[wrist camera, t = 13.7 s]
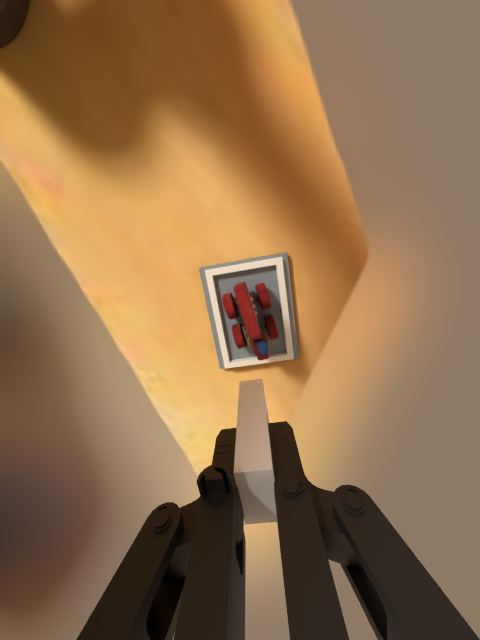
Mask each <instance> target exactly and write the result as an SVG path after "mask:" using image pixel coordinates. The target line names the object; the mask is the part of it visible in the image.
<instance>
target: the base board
mask: <svg viewBox="0 0 480 640" xmlns="http://www.w3.org/2000/svg"><path fill="white" fill-rule="evenodd" d="M199 270H200V275H201V280H202V284H203V289H204V294H205V299H206V303H207V308H208V313H209V317H210V322H211V327H212V331H213V336H214V341H215V346H216V350H217V355H218V360H219V364H220V369H226V368H234V367H241V366H248V365H255V364H263V363H270V362H277V361H284V360H292V359H299V354H298V345H297V336H296V327H295V318H294V309H293V300H292V291H291V282H290V273H289V264H288V255H287V252H286V253H281V254H275V255H269V256H263V257H258V258H252V259H246V260H241V261H235V262H229V263H224V264H218V265H212V266H207V267H201V268H199ZM243 281H244V282H246V285H247V288H248V292H249V293H250V294H251V295H252V296H254V295H257V292H256V289H255V285H257V284H260V283H264V284H265V286H266V288H267V291H268V295H269V298H270V302H271V308H269V309H265V310H263V309H262V308H261V305H260V302H259V301H257V302H254V304H255V307H256V311H257V320H258V323H259V324H262V325H263V326H264V325H265V321H264V316H265V315H268V314H272V315H273V317H274V320H275V323H276V326H277V330H278V334H279V337H278V338H276V339H273V340H271V339H270V338H269V335H268V343H267V345H268V355H269V358H268V359H265V360H258V359H257V356H256V355H255V354H254V353H253V348H252V347H250V345H249V344H248V342H247V347H244V348H241V349H238V348H237V346H236V343H235V341H234V337H233V334H232V325H234V324H237V323H240V324H241V325H242V327H243V326H245V323H244V320H243V317H242V315H241V312H240V309H239V307H237V309H238V313H239V316H238V318H235V319H229V318H228V316H227V314H226V312H225V309H224V306H223V302H222V295H224V294H227V293H232V295H233V297H234V299H235V301H237V300H236V297H235V294H234V290H233V288H234V286H235V285H236V284H238V283H241V282H243Z"/></svg>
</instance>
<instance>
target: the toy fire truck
mask: <svg viewBox="0 0 480 640" xmlns="http://www.w3.org/2000/svg"><path fill="white" fill-rule="evenodd" d="M255 289H256V292H257V295H254V296H252V295H251V294H250V293H249V292H248V288H247V285H246V282H244V281H243V282H241V283H238V284H236V285H235V286H234V288H233V290H234V294H235V297H236V300H237V301H235V299H234V297H233V295H232V293H227V294H224V295H222V302H223V306H224V309H225V312H226V314H227V316H228V318H229V319H235V318H238V316H239V313H238V309H237V307H239V309H240V312H241V315H242V317H243V320H244V323H245V326H243V327H242V325H241V324H240V323H237V324H234V325H232V334H233V337H234V341H235V343H236V346H237V348H238V349H241V348H244V347H247V342H248V344H249V345H250V347H252V348H253V353H254V354H255V355H256V356H257V359H258V360H265V359H268V358H269V355H268V345H267V343H268V335H269V338H270V339H271V340H273V339H276V338H278V337H279V334H278V330H277V326H276V323H275V320H274V317H273V315H272V314H268V315H265V316H264V321H265V325H264V326H263V325H262V324H259V323H258V320H257V311H256V307H255V304H254V302H257V301H259V302H260V305H261V308H262V309H263V310H265V309H269V308H271V302H270V298H269V295H268V291H267V288H266V286H265V284H264V283H260V284H257V285H255Z"/></svg>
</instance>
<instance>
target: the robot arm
mask: <svg viewBox="0 0 480 640" xmlns="http://www.w3.org/2000/svg"><path fill="white" fill-rule="evenodd" d="M27 7H28V0H0V47H1V46H3V45H5V44H6V43H8V42H9V41H10V40H11V39H12V38H13V37H14V36H15V35H16V34H17V32H18V31H19V29H20V27H21V25H22V23H23V21H24V18H25V15H26V11H27ZM197 485H198V488H199V492H200V495H201V496H200V497H199V498H198V499H197V500H195V501H194V502H192V503H190V504H187V505H185V506H183V507H181V508H179V507H178V505H177V504H175V503H172V502H171V503H170V502H168V503H165V504H162V505H159V506H158V507H157V508H156V509H154V510H153V511H152V513H151V514H150V515H149V517H148V518H147V520H146V522H145V523H144V525H143V526H142V528H141V530H140V532H139V533H138V535H137V537H136V539H135V540H134V542H133V544H132V545H131V547H130V549H129V551H128V552H127V554H126V556H125V557H124V559H123V561H122V563H121V564H120V566H119V568H118V569H117V571H116V573H115V575H114V576H113V578H112V580H111V582H110V583H109V585H108V587H107V588H106V590H105V592H104V594H103V595H102V597H101V599H100V600H99V602H98V604H97V605H96V607H95V609H94V611H93V612H92V614H91V616H90V617H89V619H88V621H87V623H86V624H85V626H84V628H83V630H82V631H81V633H80V635H79V636H78V638H77V640H172V638H173V636H174V640H245V536H244V531H243V526H244V521H245V524H253V523H265V522H278V532H279V541H280V550H281V559H282V568H283V578H284V587H285V596H286V604H287V614H288V624H289V632H290V640H349V637H348V633H347V629H346V626H345V622H344V618H343V615H342V611H341V607H340V603H339V599H338V595H337V591H336V588H335V584H334V580H333V576H332V572H331V569H330V565H329V561H328V559H329V560H332V561H335V562H338V563H340V564H341V566H342V568H343V570H344V572H345V574H346V576H347V578H348V580H349V582H350V584H351V586H352V588H353V590H354V592H355V594H356V596H357V598H358V600H359V602H360V604H361V606H362V608H363V610H364V612H365V614H366V616H367V618H368V621H369V623H370V625H371V626H372V629H373V631H374V633H375V635H376V637H377V638H378V640H480V639H479V638H478V637H477V635H476V634H475V633H474V631H473V630H472V629H471V628H470V626H469V625H468V624H467V622H466V621H465V620H464V618H463V617H462V616H461V614H460V613H459V612H458V611H457V609H456V608H455V607H454V605H453V604H452V603H451V602H450V600H449V599H448V598H447V596H446V595H445V594H444V592H443V591H442V590H441V588H440V587H439V586H438V585H437V583H436V582H435V581H434V579H433V578H432V577H431V576H430V574H429V573H428V572H427V570H426V569H425V568H424V566H423V565H422V564H421V562H420V561H419V560H418V559H417V557H416V556H415V555H414V553H413V552H412V551H411V549H410V548H409V547H408V546H407V544H406V543H405V542H404V540H403V539H402V538H401V536H400V535H399V534H398V533H397V531H396V530H395V529H394V527H393V526H392V525H391V523H390V522H389V521H388V520H387V518H386V517H385V516H384V515H383V513H382V512H381V510H380V509H379V508H378V507H377V505H376V504H375V503H374V502H373V500H372V499H371V497H370V496H368V494H366V492H364V491H363V490H361V489H360V488H358V487H356V486H352V485H342V486H340V487H338V488H337V489H336V490H335V492H332V491H327V490H323V489H320V488H318V487H316V486H314V485H313V484H311V482H309V481H308V480H307V478H306V476H305V474H304V471H303V468H302V464H301V460H300V456H299V452H298V448H297V445H296V441H295V437H294V433H293V429H292V427H291V426H290V425H289V424H288V423H287V421H285V422H276V423H269V419H268V412H267V406H266V399H265V393H264V387H263V381H262V379H256V380H248V381H241V382H240V386H239V401H238V415H237V428H231V429H223V430H221V431H220V433H219V434H218V436H217V438H216V444H215V449H214V455H213V461H212V465H211V466H208V467H207V468H205V469H204V470H203V471H202V472H201V473H200V475H199V477H198V479H197ZM243 520H244V521H243ZM174 633H175V635H174Z"/></svg>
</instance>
